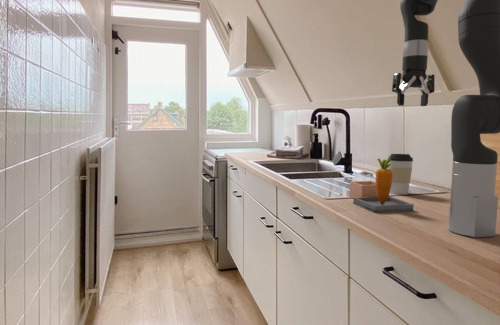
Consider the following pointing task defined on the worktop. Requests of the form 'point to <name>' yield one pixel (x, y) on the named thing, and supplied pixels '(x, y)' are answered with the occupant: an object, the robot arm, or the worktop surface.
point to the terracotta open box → (362, 189)
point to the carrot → (383, 180)
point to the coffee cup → (400, 173)
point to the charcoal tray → (388, 206)
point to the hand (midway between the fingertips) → (412, 105)
